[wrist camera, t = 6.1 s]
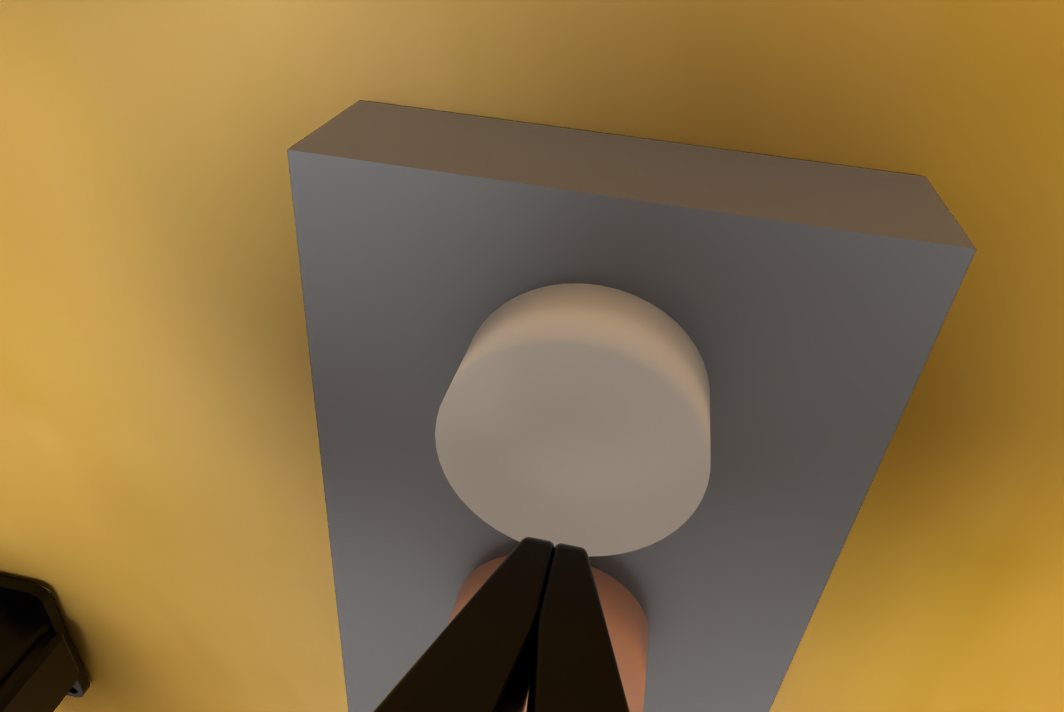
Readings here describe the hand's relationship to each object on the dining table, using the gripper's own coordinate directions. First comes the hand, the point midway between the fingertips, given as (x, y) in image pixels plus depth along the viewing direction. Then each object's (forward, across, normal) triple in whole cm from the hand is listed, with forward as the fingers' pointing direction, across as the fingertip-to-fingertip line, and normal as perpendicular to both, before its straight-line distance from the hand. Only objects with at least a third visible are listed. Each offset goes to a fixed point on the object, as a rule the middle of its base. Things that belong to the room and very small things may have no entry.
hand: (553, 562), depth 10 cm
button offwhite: (+4, 0, 0) cm, 4 cm away
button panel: (+8, 0, +7) cm, 10 cm away
